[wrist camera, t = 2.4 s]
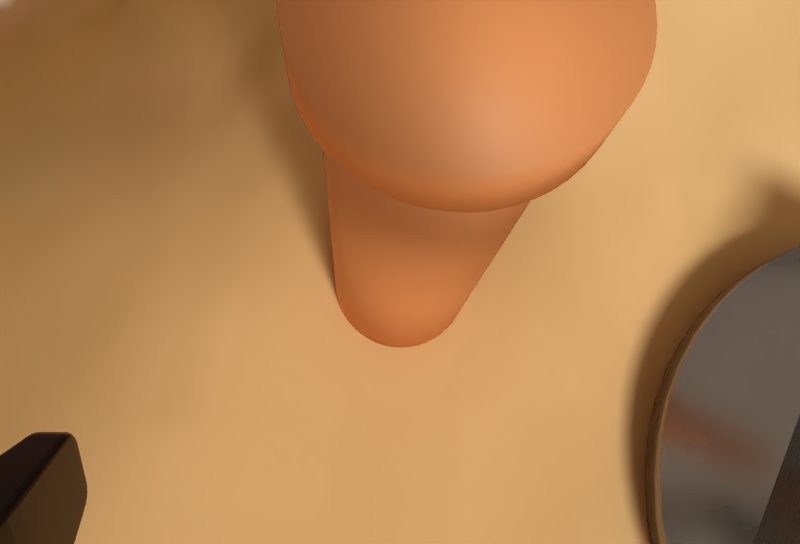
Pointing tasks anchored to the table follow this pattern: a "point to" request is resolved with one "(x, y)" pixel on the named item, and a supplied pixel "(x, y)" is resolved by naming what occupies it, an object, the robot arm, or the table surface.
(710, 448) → the grey peg hole base
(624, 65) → the wooden peg
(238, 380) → the table surface
